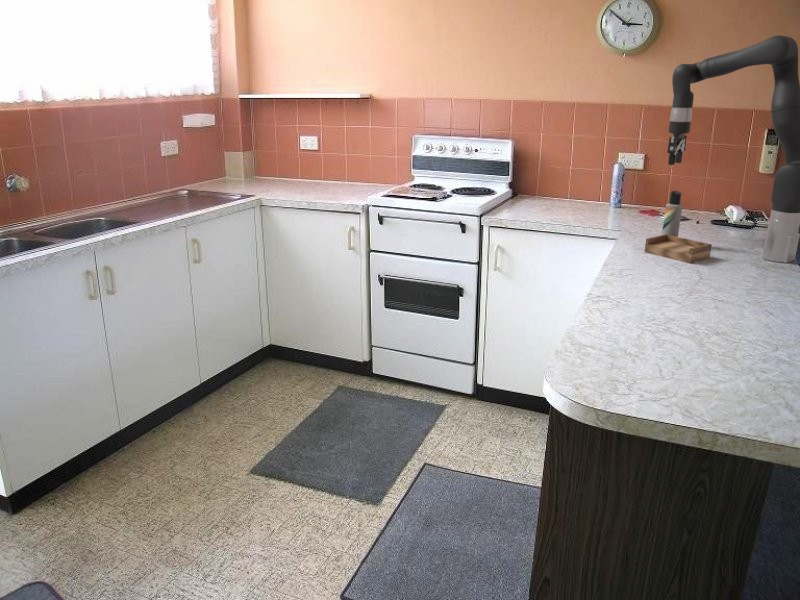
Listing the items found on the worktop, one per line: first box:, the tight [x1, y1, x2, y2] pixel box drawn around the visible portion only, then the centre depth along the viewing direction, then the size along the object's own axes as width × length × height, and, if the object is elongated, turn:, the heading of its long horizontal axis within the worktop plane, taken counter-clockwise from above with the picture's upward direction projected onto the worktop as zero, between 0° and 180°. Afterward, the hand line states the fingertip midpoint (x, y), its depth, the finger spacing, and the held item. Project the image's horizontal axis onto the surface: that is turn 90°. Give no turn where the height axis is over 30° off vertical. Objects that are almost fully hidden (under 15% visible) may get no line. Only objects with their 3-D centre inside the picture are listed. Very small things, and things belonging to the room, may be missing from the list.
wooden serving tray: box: [644, 234, 713, 264], centre depth 236 cm, size 18×12×5 cm, turn 36°
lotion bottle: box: [661, 190, 683, 237], centre depth 249 cm, size 6×6×20 cm
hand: (674, 163), depth 255 cm, fingers open, 8 cm apart
